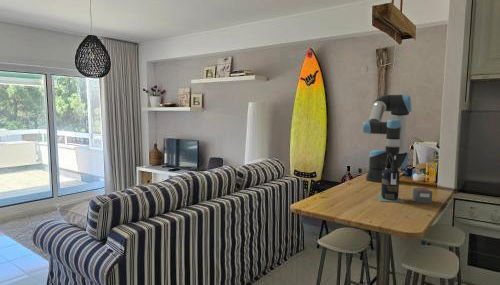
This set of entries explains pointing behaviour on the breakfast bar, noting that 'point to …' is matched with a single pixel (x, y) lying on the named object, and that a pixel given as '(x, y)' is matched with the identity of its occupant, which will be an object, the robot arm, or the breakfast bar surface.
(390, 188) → the canister
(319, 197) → the breakfast bar surface
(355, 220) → the breakfast bar surface
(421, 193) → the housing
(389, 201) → the mat
